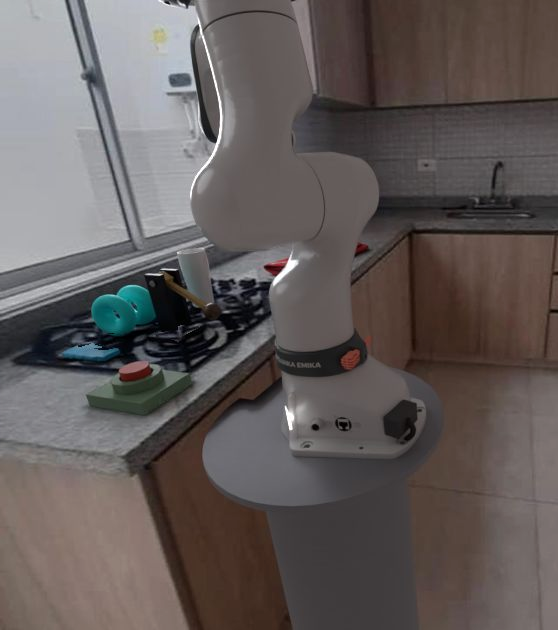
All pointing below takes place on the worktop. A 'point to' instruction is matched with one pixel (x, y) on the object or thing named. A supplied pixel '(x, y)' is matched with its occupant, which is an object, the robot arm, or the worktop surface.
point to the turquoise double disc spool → (123, 310)
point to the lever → (193, 298)
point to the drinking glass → (196, 273)
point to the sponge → (90, 353)
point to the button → (135, 371)
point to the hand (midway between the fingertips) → (232, 238)
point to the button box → (140, 391)
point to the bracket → (168, 305)
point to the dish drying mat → (279, 265)
